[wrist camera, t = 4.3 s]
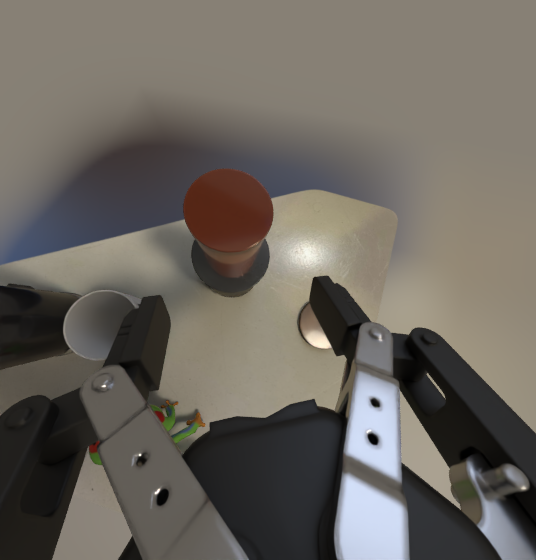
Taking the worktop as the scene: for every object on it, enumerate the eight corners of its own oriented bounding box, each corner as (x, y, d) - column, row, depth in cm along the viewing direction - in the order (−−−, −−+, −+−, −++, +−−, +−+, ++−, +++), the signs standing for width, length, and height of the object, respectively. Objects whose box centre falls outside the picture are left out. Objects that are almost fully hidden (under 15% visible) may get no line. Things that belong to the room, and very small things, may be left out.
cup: (175, 309, 36) (153, 308, 26) (149, 354, 34) (115, 372, 24) (130, 287, 35) (90, 278, 25) (101, 332, 34) (47, 341, 24)
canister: (195, 260, 26) (163, 218, 14) (224, 221, 27) (217, 151, 15) (238, 288, 26) (243, 269, 14) (265, 248, 27) (289, 200, 16)
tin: (193, 279, 37) (174, 264, 25) (224, 235, 39) (220, 203, 27) (240, 308, 38) (243, 307, 26) (268, 264, 39) (283, 244, 28)
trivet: (289, 331, 38) (291, 331, 38) (313, 289, 40) (315, 289, 39) (331, 357, 39) (333, 358, 38) (352, 314, 41) (355, 315, 40)
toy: (195, 375, 35) (180, 399, 25) (209, 431, 34) (199, 479, 24) (99, 407, 32) (40, 449, 22) (111, 469, 31) (55, 540, 21)
